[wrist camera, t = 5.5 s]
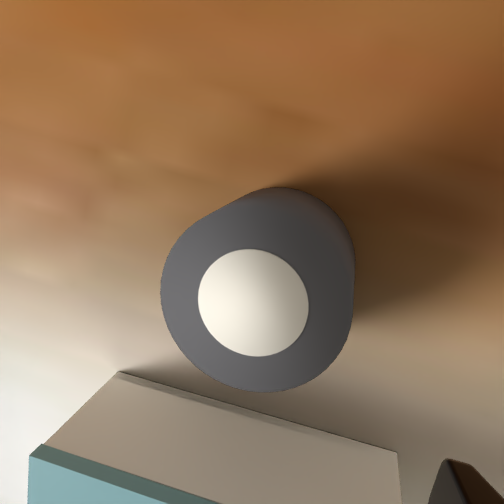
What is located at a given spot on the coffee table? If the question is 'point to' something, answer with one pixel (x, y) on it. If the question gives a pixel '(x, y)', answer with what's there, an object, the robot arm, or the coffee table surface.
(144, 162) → the coffee table surface
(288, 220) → the grey cylinder white cap
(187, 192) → the coffee table surface
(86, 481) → the lid
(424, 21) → the coffee table surface
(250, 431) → the box
